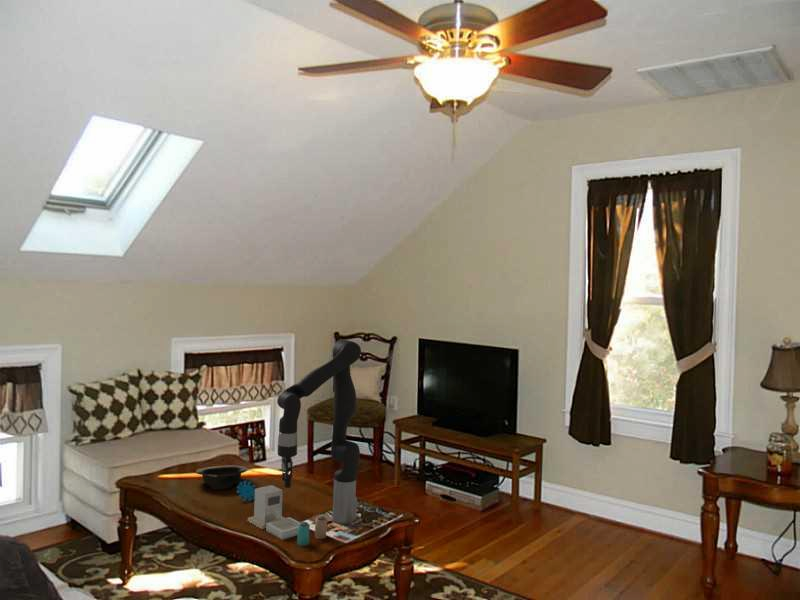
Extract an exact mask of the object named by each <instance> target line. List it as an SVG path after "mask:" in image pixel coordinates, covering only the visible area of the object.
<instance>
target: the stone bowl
mask: <svg viewBox="0 0 800 600" xmlns="http://www.w3.org/2000/svg"><path fill="white" fill-rule="evenodd" d="M249 470H250V468H249V467H245V466H241V465H232V464H231V465H230V464H229V465H228V464H227V465H213V466H206V467H202V468H198V469H196V471H195V474H197V475H200V476H201V475H202V480H203V482H204V483H205V484H206V485H208V486H210V489H211V490H214V491H216V490H217V491H220V490H225V489H231V488H232V487H233V485H234V486H236V485H237V486H238V485H240V484H239V483H240V482H241V479H242V474H244V473H245V472H247V471H249Z"/></svg>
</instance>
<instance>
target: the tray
mask: <svg viewBox="0 0 800 600" xmlns="http://www.w3.org/2000/svg"><path fill="white" fill-rule="evenodd" d="M300 522H301V521H298V520H296V519H295V518H292V517H285V519H281V520H277V521H274V522H270V523H266V529H265V531H266V532H267V533H269V534H271V535H273V536H274V537H276V538H277V539H280V540H282V541H283V540H286V539H291V538H293V537H296V536H297V534H298V524H300Z"/></svg>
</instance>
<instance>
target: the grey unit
mask: <svg viewBox="0 0 800 600" xmlns="http://www.w3.org/2000/svg"><path fill="white" fill-rule="evenodd" d="M254 489H255V495H254V497H255V500H254V502H253V503H254V508H253V510H254V511H253V516H250V517H247V522H248V521H249V522H248V523H250V524H251V523H252V525H253V524H254V525H253V526H255V525H256V526H255V527H256V528H258V527H259V528H258V529H260V528H261V529H260V530H262V529H263V530H266V529H265V528H266V523H270V522H274V521H277V520H281V519H285V518H286V517H284V516H282V515H283V514H282V513H283V489H281V488H279V487H277V486H275V485H273V484H271V485H270V484H269V485H266V486H261V487H257V488H256V487H255V488H254Z"/></svg>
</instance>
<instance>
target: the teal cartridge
mask: <svg viewBox="0 0 800 600" xmlns="http://www.w3.org/2000/svg"><path fill="white" fill-rule="evenodd" d="M299 522H300V524H298V534H297V538H296V543H297V546H302V547H304V546H308V545H309V544H310V524H309V523H308V522H307V521H299Z"/></svg>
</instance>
